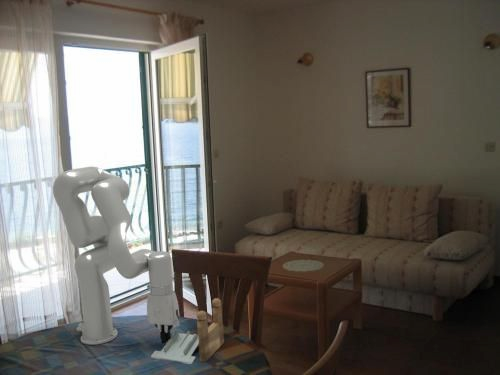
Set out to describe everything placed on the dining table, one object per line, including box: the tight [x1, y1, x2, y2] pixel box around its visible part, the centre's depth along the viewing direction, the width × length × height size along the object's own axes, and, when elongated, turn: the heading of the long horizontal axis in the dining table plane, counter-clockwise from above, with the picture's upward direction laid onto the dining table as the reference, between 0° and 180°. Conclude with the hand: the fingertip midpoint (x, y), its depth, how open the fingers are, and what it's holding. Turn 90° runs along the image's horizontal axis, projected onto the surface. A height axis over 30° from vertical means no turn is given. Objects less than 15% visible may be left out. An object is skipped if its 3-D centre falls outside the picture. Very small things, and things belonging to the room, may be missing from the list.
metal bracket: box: [150, 330, 199, 365], centre depth 164 cm, size 14×6×15 cm
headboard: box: [196, 297, 225, 363], centre depth 162 cm, size 3×14×16 cm, turn 159°
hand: (166, 341), depth 169 cm, fingers closed
